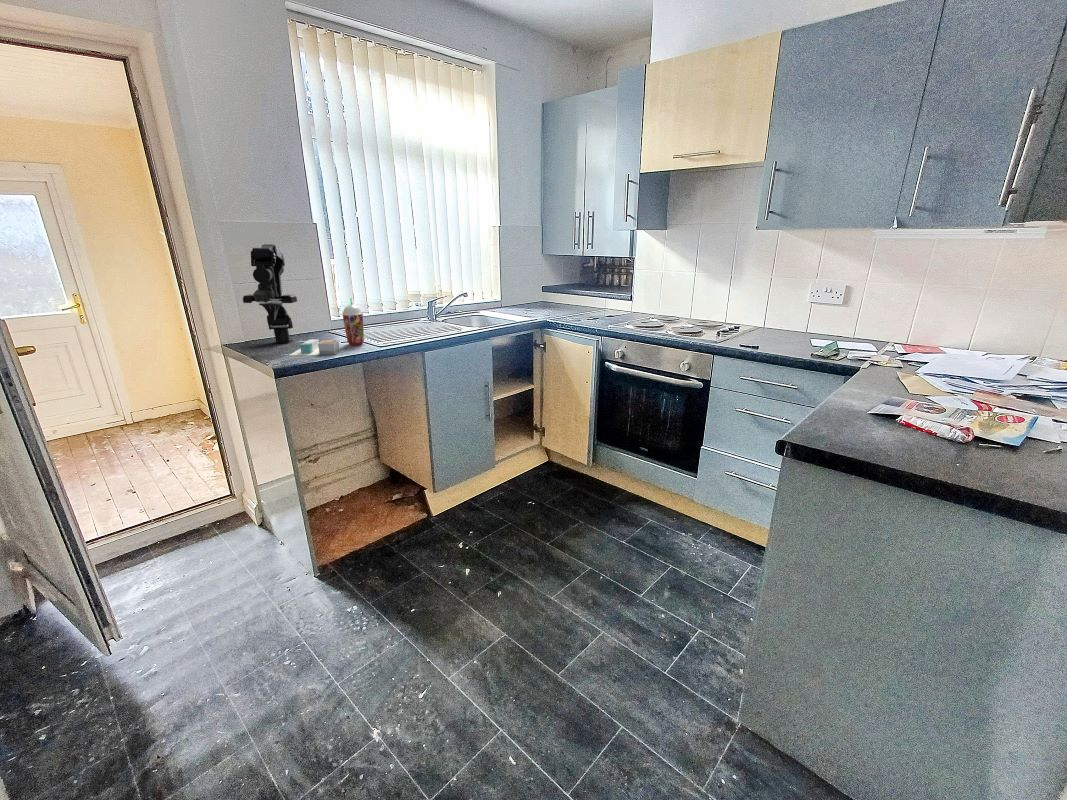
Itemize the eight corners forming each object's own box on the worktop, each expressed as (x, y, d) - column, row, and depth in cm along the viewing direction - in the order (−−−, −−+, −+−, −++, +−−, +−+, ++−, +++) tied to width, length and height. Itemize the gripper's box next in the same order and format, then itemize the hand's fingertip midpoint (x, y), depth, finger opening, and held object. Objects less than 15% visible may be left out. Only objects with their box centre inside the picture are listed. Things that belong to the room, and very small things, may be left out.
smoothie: (364, 346, 201) (359, 299, 194) (344, 346, 199) (338, 299, 193) (367, 342, 208) (362, 297, 202) (348, 342, 207) (342, 297, 201)
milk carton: (310, 347, 196) (309, 339, 195) (319, 347, 196) (318, 339, 195) (301, 353, 186) (300, 344, 185) (310, 353, 187) (309, 344, 186)
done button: (325, 347, 189) (324, 340, 189) (335, 347, 190) (335, 340, 189) (322, 349, 186) (321, 342, 185) (332, 349, 186) (331, 342, 185)
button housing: (324, 351, 191) (323, 340, 189) (339, 351, 191) (338, 340, 190) (319, 354, 185) (318, 343, 184) (335, 354, 186) (333, 343, 184)
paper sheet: (304, 346, 199) (304, 346, 198) (330, 346, 199) (330, 346, 199) (288, 355, 183) (288, 355, 183) (317, 355, 184) (317, 355, 184)
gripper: (231, 282, 176) (239, 323, 181) (282, 283, 177) (289, 323, 182) (246, 280, 186) (253, 319, 191) (294, 280, 188) (300, 319, 193)
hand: (273, 320), depth 189 cm, fingers closed
